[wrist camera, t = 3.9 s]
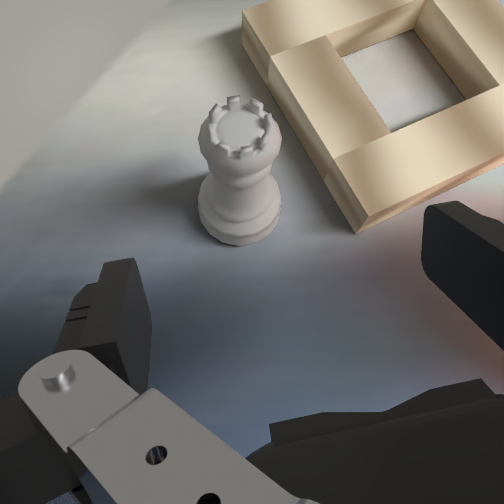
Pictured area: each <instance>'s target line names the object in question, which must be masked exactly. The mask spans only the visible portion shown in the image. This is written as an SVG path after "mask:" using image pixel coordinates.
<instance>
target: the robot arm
mask: <svg viewBox="0 0 504 504" xmlns="http://www.w3.org/2000/svg"><path fill="white" fill-rule="evenodd" d="M421 262H422V266H423V269H424V272H425V274H426V275H427V277H428V278H429V279H430V280H431V281H432V282H433V283H434V284H435V285H436V286H437V287H438V288H439V289H440V290H442V291H443V292H444V293H445V294H446V295H447V296H448V297H449V298H450V299H451V300H452V301H453V302H454V303H455V304H456V305H457V306H458V307H459V308H460V309H461V310H462V311H463V312H464V313H465V314H466V315H467V316H468V317H469V318H470V319H471V320H473V321H474V322H475V323H476V324H477V325H478V326H479V327H480V328H481V329H482V330H483V331H484V332H485V333H486V334H487V335H488V336H489V337H490V338H491V339H492V340H493V341H494V342H495V343H496V344H497V345H498V346H499V347H500V348H501V349H502V350H503V351H504V224H503V223H502V222H500V221H498V220H496V219H493V218H489V217H486V216H483V215H481V214H479V213H477V212H476V211H474V210H472V209H471V208H469V207H467V206H465V205H464V204H462V203H460V202H459V201H451V202H445V203H439V204H434V205H429V206H428V207H427V208H426V209H425V212H424V221H423V235H422V250H421ZM151 333H152V323H151V315H150V310H149V306H148V302H147V299H146V295H145V292H144V288H143V284H142V281H141V277H140V274H139V270H138V267H137V264H136V261H135V259H134V258H127V259H122V260H116V261H110V262H105V263H104V264H103V268H102V271H101V274H100V277H99V281H98V282H97V283H92V284H87V285H86V286H85V287H84V288H83V289H82V290H81V291H80V292H79V293H78V294H77V295H76V296H75V297H74V299H73V302H72V304H71V307H70V312H68V315H67V317H66V323H64V325H63V328H62V331H61V333H60V336H59V338H58V341H57V344H56V346H55V349H54V352H53V354H52V355H51V356H48V357H47V358H45V359H43V360H41V361H39V362H38V363H36V364H35V365H34V366H33V367H31V368H30V369H29V370H28V371H27V372H26V373H25V375H24V376H23V377H22V379H21V381H20V383H19V387H18V393H17V394H15V395H13V396H11V397H8V398H6V399H4V400H1V401H0V504H45V503H47V502H49V501H51V500H53V499H55V498H57V497H59V496H61V495H62V494H64V493H66V492H69V494H70V495H71V496H72V498H73V499H74V501H75V502H76V503H77V504H504V395H502V394H494V393H493V392H492V390H491V389H490V388H489V387H488V386H487V385H486V384H485V383H484V381H483V380H482V379H481V378H480V379H476V380H471V381H466V382H462V383H457V384H452V385H448V386H443V387H438V388H434V389H430V390H428V391H426V392H424V393H422V394H420V395H418V396H416V397H414V398H412V399H410V400H407V401H405V402H403V403H401V404H399V405H397V406H395V407H393V408H391V409H389V410H387V411H384V412H322V413H318V414H313V415H309V416H304V417H299V418H295V419H290V420H285V421H281V422H276V423H271V424H269V427H270V434H271V441H272V442H270V443H268V444H266V445H264V446H263V447H261V448H259V449H258V450H256V451H255V452H253V453H251V454H250V455H249V456H248V457H246V458H244V457H242V456H241V455H240V454H238V453H237V452H236V451H235V450H233V449H232V448H231V447H230V446H228V445H227V444H226V443H224V442H223V441H222V440H221V439H219V438H218V437H217V436H216V435H214V434H213V433H212V432H210V431H209V430H208V429H207V428H205V427H204V426H203V425H201V424H200V423H199V422H198V421H196V420H195V419H194V418H193V417H191V416H190V415H189V414H187V413H186V412H185V411H184V410H182V409H181V408H180V407H179V406H177V405H176V404H175V403H173V402H172V401H171V400H170V399H168V398H167V397H166V396H165V395H163V394H162V393H161V392H159V391H158V390H156V389H154V388H148V389H147V384H148V371H149V358H150V345H151Z"/></svg>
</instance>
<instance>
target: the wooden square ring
mask: <svg viewBox="0 0 504 504" xmlns="http://www.w3.org/2000/svg"><path fill="white" fill-rule="evenodd" d="M411 29H413V30H414V31H415V32H416V34H417V35H418V36H419V38H420V39H421V40H422V42H423V43H424V44H425V46H426V47H427V48H428V50H429V51H430V52H431V54H432V55H433V56H434V58H435V59H436V60H437V62H438V63H439V64H440V66H441V67H442V68H443V70H444V71H445V72H446V74H447V75H448V76H449V78H450V79H451V80H452V82H453V83H454V84H455V86H456V87H457V88H458V90H459V91H460V92H461V94H462V95H463V96H464V98H465V99H466V100H465V101H463V102H461V103H459V104H456V105H454V106H452V107H449V108H447V109H445V110H443V111H440V112H438V113H436V114H434V115H431V116H429V117H427V118H424V119H422V120H420V121H418V122H415V123H413V124H411V125H409V126H406V127H404V128H402V129H399V130H397V131H395V132H393V133H391V131H390V130H389V128H388V127H387V125H386V124H385V123H384V121H383V120H382V118H381V117H380V115H379V114H378V112H377V111H376V109H375V108H374V106H373V105H372V103H371V102H370V100H369V99H368V97H367V96H366V94H365V93H364V91H363V90H362V88H361V87H360V85H359V84H358V82H357V81H356V79H355V78H354V76H353V75H352V74H351V72H350V71H349V69H348V68H347V66H346V65H345V63H344V62H343V60H342V59H341V57H343V56H346V55H348V54H351V53H354V52H356V51H359V50H361V49H364V48H366V47H369V46H371V45H374V44H376V43H379V42H381V41H384V40H386V39H389V38H391V37H394V36H396V35H399V34H401V33H404V32H406V31H409V30H411ZM242 46H243V47H244V49H245V51H246V52H247V54H248V56H249V57H250V59H251V61H252V62H253V64H254V66H255V67H256V69H257V71H258V72H259V74H260V76H261V77H262V79H263V81H264V82H265V84H266V86H267V87H268V89H269V91H270V92H271V94H272V96H273V97H274V99H275V101H276V102H277V104H278V106H279V107H280V109H281V111H282V112H283V114H284V116H285V117H286V119H287V121H288V122H289V124H290V126H291V127H292V129H293V131H294V132H295V134H296V136H297V137H298V139H299V141H300V142H301V144H302V146H303V147H304V149H305V151H306V152H307V154H308V156H309V157H310V159H311V161H312V162H313V164H314V166H315V167H316V169H317V171H318V172H319V174H320V176H321V177H322V179H323V181H324V182H325V184H326V186H327V187H328V189H329V191H330V192H331V194H332V196H333V197H334V199H335V201H336V202H337V204H338V206H339V207H340V209H341V211H342V212H343V214H344V216H345V217H346V219H347V221H348V222H349V224H350V226H351V227H352V229H353V231H354V232H355V234H357V233H359V232H361V231H364V230H366V229H368V228H370V227H372V226H374V225H376V224H378V223H380V222H382V221H384V220H387V219H389V218H391V217H393V216H395V215H397V214H399V213H401V212H403V211H405V210H408V209H410V208H412V207H414V206H416V205H418V204H420V203H422V202H424V201H426V200H429V199H431V198H433V197H435V196H437V195H439V194H441V193H443V192H445V191H447V190H450V189H452V188H454V187H456V186H458V185H460V184H462V183H464V182H466V181H468V180H471V179H473V178H475V177H477V176H479V175H481V174H483V173H485V172H487V171H489V170H492V169H494V168H496V167H498V166H500V165H502V164H504V7H503V6H502V5H501V4H500V3H499V1H498V0H271V1H268V2H265V3H262V4H260V5H257V6H254V7H251V8H249V9H246V10H243V11H242Z"/></svg>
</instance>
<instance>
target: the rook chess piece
mask: <svg viewBox="0 0 504 504" xmlns="http://www.w3.org/2000/svg"><path fill="white" fill-rule="evenodd" d="M281 140H282V137H281V133H280V130H279V126H278V124H277V123H276V121H275V120H274V119H273V118H272V114H271V113H268V112H266V111H264V110H263V103H262V102H260V101H258V100H256V99H254V98H253V97H252V100H251V102H250V105H249V104H243V103H240V95H239V96H233V97H227V105H224V106H222V107H220V106H218V105H217V104H215V106H214V107H213V108H212V109H211V111H210V112H209V116H208V117H207V118H206V120H205V121H204V122H203V123H202V125H201V129H200V133H199V137H198V141H199V145H200V150H201V153H202V155H203V156H204V157H205V159H206V160H207V163H208V167H209V170H210V173H209V174H208V175H207V177H206V178H205V179H204V181H203V182H202V184H201V187H200V192H199V196H198V210H199V215H200V220H201V223H202V224H203V225H204V227H205V228H206V230H207V231H208V232H209V234H210V235H212V236H213V237H215V238H217V239H218V240H220V241H221V242H223V243H227V244H233V245H238V246H242V245H247V244H252V243H257V242H258V241H260V240H261V239H263V238H264V237H266V236H267V235H269V234H270V233H271V232H272V230H273V229H274V227H275V226H276V224H277V223H278V221H279V217H280V211H281V200H282V199H281V195H280V191H279V187H278V184H277V182H276V181H275V179H274V178H273V177H272V175H271V174H270V173H269V172H270V170H271V167H272V162H273V161H274V159H275V158H276V156H277V155H278V154H279V152H280V146H281Z"/></svg>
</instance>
